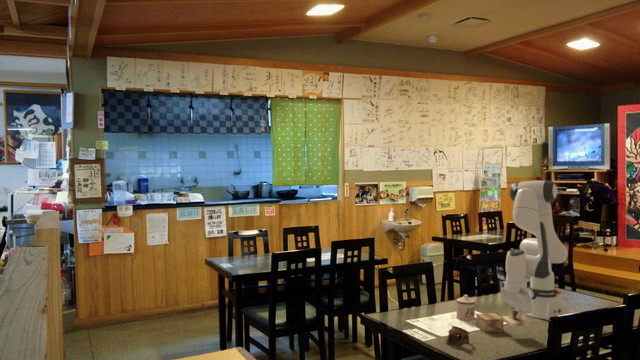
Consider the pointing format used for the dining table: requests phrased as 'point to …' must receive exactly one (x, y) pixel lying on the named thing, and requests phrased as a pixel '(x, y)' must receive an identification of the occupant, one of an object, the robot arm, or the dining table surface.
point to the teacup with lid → (465, 308)
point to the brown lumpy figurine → (455, 339)
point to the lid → (516, 320)
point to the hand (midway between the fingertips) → (516, 317)
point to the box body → (489, 323)
